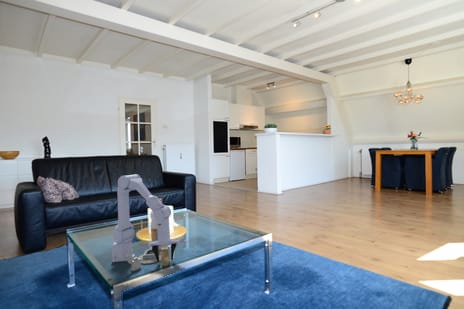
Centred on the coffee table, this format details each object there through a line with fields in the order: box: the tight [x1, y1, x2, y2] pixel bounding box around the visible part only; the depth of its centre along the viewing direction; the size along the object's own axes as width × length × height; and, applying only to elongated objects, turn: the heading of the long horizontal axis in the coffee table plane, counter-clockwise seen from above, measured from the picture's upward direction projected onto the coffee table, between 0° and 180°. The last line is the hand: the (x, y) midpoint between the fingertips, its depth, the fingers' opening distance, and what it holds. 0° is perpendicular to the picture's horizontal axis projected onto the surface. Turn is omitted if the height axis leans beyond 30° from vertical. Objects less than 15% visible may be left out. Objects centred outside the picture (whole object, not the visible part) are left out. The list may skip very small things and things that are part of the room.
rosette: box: [138, 248, 161, 265], centre depth 142 cm, size 14×14×4 cm
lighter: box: [125, 254, 142, 272], centre depth 129 cm, size 7×2×8 cm, turn 144°
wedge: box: [160, 247, 170, 267], centre depth 134 cm, size 3×5×7 cm, turn 7°
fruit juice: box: [150, 197, 170, 251], centre depth 160 cm, size 9×9×28 cm
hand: (165, 260), depth 134 cm, fingers open, 6 cm apart
